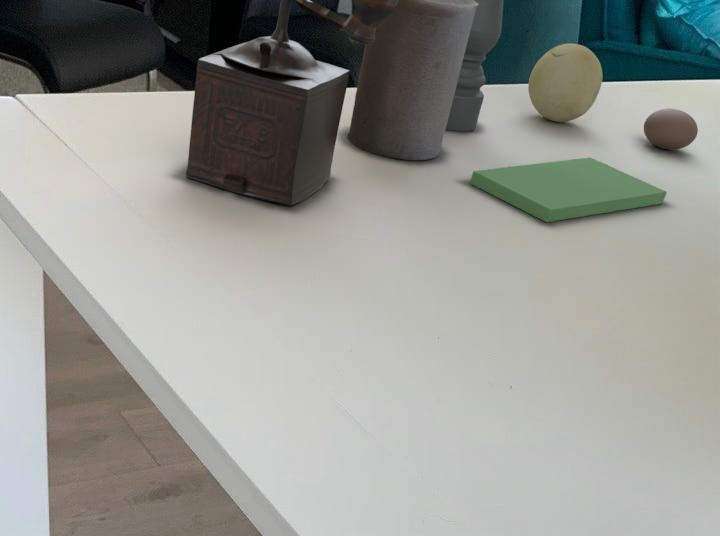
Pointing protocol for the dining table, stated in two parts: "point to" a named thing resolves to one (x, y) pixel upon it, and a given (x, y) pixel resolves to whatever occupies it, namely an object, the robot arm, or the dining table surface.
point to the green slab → (567, 188)
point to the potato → (565, 82)
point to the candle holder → (475, 65)
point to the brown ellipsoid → (670, 129)
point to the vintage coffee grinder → (274, 109)
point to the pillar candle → (411, 78)
